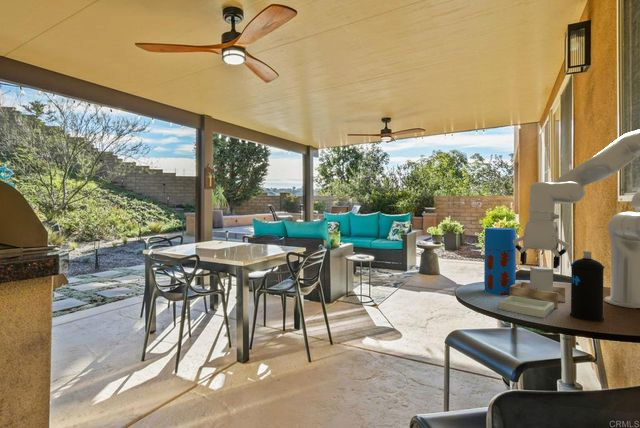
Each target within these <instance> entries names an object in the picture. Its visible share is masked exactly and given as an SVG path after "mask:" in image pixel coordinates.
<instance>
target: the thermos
mask: <svg viewBox="0 0 640 428" xmlns="http://www.w3.org/2000/svg"><path fill="white" fill-rule="evenodd" d="M516 236H517V232H516V229H515V228H511V227H510V228H508V227H486V228H484V258H483V259H484V265H483V266H484V274H483V275H484V276H483V277H484V279H483V280H484V281H483V284H484V292H485V291H486V292H485V293H487V294H490V295H494V294H495V295H494V296H503V295H509V286H511V285H513V284H515V283H516V262H517V260H516V258H517V257H516V256H517V253H516V251H517V249H516V247H515V245H514V243H513V240H515V239H517V237H516Z"/></svg>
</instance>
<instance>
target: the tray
mask: <svg viewBox="0 0 640 428" xmlns="http://www.w3.org/2000/svg"><path fill="white" fill-rule="evenodd" d="M498 310H502V311H507V312H512V313H518V314H522V315H528V316H533V317H538V318H543V319H546V318H547V317H548V316H549V315H550V314H552V312H553V311H554V310H555V308H554V302H548V301H541V300H535V299H529V298H523V297H517V296H511V295H510V296H506V297H505V298H504V299H502V300H500V301H498Z"/></svg>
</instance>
